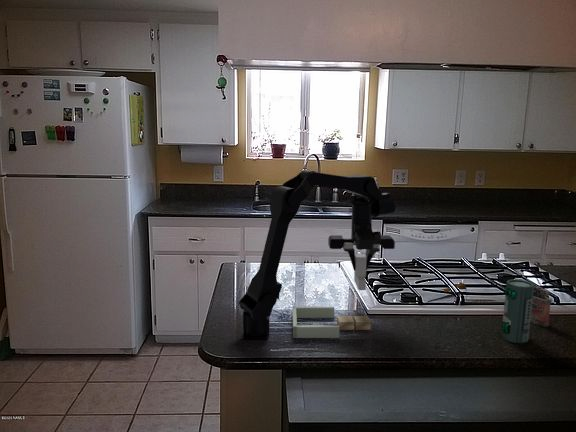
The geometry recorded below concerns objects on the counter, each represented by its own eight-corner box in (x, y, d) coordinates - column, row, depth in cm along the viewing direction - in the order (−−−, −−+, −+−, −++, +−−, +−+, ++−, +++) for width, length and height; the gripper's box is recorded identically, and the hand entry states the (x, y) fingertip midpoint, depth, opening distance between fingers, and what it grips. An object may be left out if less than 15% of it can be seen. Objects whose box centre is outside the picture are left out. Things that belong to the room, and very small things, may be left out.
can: (505, 330, 127) (510, 277, 124) (530, 337, 123) (536, 282, 120) (499, 338, 122) (504, 283, 120) (524, 345, 119) (530, 289, 116)
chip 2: (355, 330, 128) (356, 322, 127) (353, 324, 131) (353, 316, 131) (370, 330, 128) (370, 321, 127) (367, 324, 132) (367, 315, 131)
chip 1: (339, 330, 127) (339, 322, 127) (336, 324, 131) (337, 316, 131) (353, 330, 128) (354, 321, 127) (351, 324, 132) (351, 315, 131)
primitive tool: (424, 304, 147) (424, 293, 146) (412, 298, 152) (412, 288, 151) (467, 294, 156) (468, 284, 155) (455, 289, 161) (455, 279, 160)
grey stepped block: (356, 290, 135) (357, 260, 134) (352, 280, 144) (353, 251, 143) (367, 290, 135) (368, 260, 134) (362, 280, 144) (363, 251, 143)
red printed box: (518, 316, 137) (521, 283, 135) (527, 314, 138) (530, 282, 136) (543, 327, 129) (547, 292, 127) (551, 325, 131) (555, 291, 129)
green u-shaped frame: (293, 337, 123) (293, 327, 122) (292, 316, 136) (292, 306, 136) (339, 337, 123) (339, 327, 122) (333, 316, 136) (334, 306, 136)
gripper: (332, 224, 128) (331, 279, 131) (400, 224, 128) (397, 279, 131) (328, 216, 139) (327, 267, 142) (391, 216, 139) (389, 267, 142)
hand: (360, 270), depth 139 cm, fingers closed on grey stepped block, 3 cm apart
